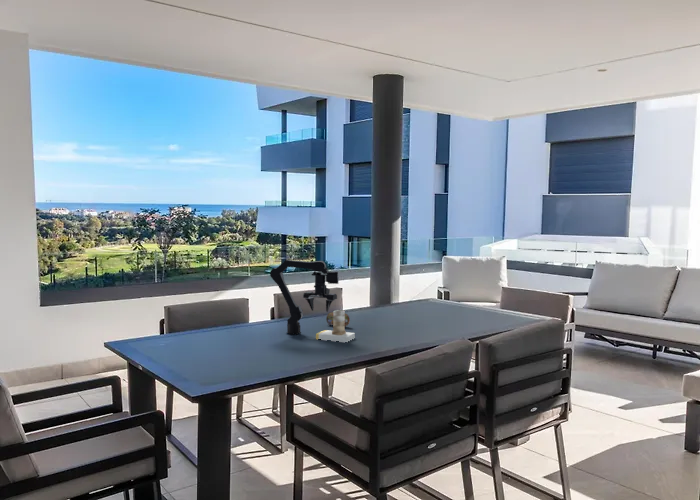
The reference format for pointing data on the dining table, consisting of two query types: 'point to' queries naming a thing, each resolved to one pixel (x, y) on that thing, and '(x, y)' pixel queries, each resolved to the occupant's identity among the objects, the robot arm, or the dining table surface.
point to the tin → (330, 319)
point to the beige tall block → (339, 322)
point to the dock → (335, 336)
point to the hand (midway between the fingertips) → (319, 311)
